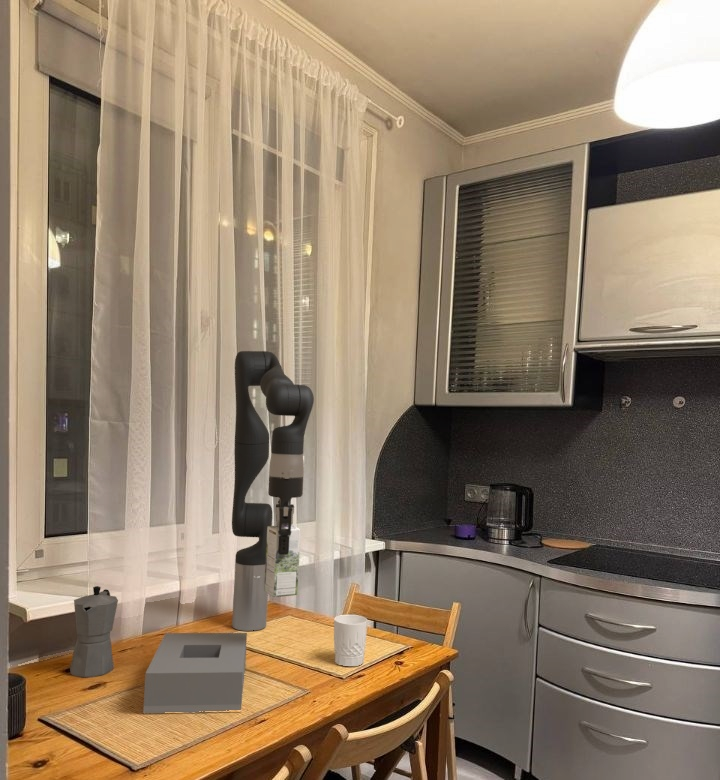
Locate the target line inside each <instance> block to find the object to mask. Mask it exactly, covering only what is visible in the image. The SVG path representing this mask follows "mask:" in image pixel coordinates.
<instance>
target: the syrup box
mask: <svg viewBox="0 0 720 780" xmlns="http://www.w3.org/2000/svg"><path fill="white" fill-rule="evenodd" d="M281 529H288V527H282V528H281ZM278 531H279V527H278V526H277V525H272V526H268V528H267V545H266V565H265V583H264V591H265V592H266V593H268V596H271V597H272V598H279V597H280V598H281V597H291V596H298V589H299V587H298V585H299V570H300V569H299V568H300V567H299V566H300V555H301V553H300V551H301V550H300V549H301V535H302V534H301V533H302V531H301V529H300V528H299V527H298V526H296V525H293V524H292V527H291V535H290V537H289V553H288V554H287V555H280V554H279V553H278V546H279V535H278Z"/></svg>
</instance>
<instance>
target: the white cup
mask: <svg viewBox="0 0 720 780" xmlns="http://www.w3.org/2000/svg"><path fill="white" fill-rule="evenodd" d="M367 629H368V618H366V617H364V616H363V615H360V614H359V615H357V614H341V615H337V616H334V619H333V641H334V643H333V645H334V647H333V649H334V663H335V662H336V663H337V664H339V665H343V666H358V665H361V664H362V663H363V664H364V660H365V651H366V644H367V643H366V642H367V641H366V640H367V632H368V631H367ZM336 663H335V664H336ZM337 664H336V665H337ZM363 664H362V665H363ZM339 665H338V666H339ZM362 665H361V666H362ZM358 667H359V666H358Z"/></svg>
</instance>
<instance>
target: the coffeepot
mask: <svg viewBox="0 0 720 780" xmlns="http://www.w3.org/2000/svg"><path fill="white" fill-rule="evenodd" d="M101 588H102V586H99V585H96V586H93V587H92V590H93V594H89V595H85V596H81V597H78V598H76V599H73V602H74V603H73V605H74V615H75V616H74V617H75V627H76V634H77V639H76V641H75V645H74V649H73V654H72V657H71V658H72V659H71V662H70V667H69V670H70V671H69V672H70V674H71V675H72V676H74V677H77V678H96V677H101V676H104V675H107V674H109V673H110V672H112V671H113V670H114V668H115V667H114V658H113V649H112V640H111V631H113V626H114V621H115V617H116V613H117V607H118V602H119V600H118V598H117V596H113V595H111V594H110V590H109V589H107V588H106V589H103V590H102V591H101Z"/></svg>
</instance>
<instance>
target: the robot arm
mask: <svg viewBox="0 0 720 780" xmlns="http://www.w3.org/2000/svg"><path fill="white" fill-rule="evenodd" d="M234 385H235V387H234V388H235V425H234V427H235V428H234V448H233V449H234V454H233V455H234V488H233V500H232V501H233V502H232V513H231V530H232V534H233V535H234V536H235V537H240V538H258V541H256V542H255V543H254V544H253V545H250V546H248V547H246V548H241V549H239V550H237V551H236V553H235V559H234V560H235V561H234V563H235V564H234V580H233V582H234V583H233V584H234V585H233V598H232V600H233V601H232V602H233V603H232V621H231V622H232V623H231V627H232V628H233V629H235V630H238V631H244V632H245V631H246V632H252V631H253V630H254V631H259V630H263V629H265V628H266V627H267V621H268V620H267V618H268V617H267V616H268V615H267V613H268V600H269V597H268V596H269V594H268V593H266V592H265V591H264V583H265V565H266V545H267V528H268V526H273V525H272V524H273V508H272V505H271V504H269V503H262V502H261V503H259V502H246V496H247V494H248V492H249V489H250V488H251V487H252V484H253V482H254V481H255V480H256V478H257V477H258V476H259V475H260V473H261V472H262V470H263V469H264V468H265V466H266V464H267V463H268V460H269V455H270V460H269V469H268V488H267V489H268V491H267V492H268V496H270V497H272V498H279V499H278V502H277V503H276V504H275V514H276V515H275V522H276V526H278V527H279V531H278V535H279V546H278V553H279V554H280V555H287V554H288V553H289V537H290V535H291V527H292V525H293V521H294V520H293V519H294V513H295V506H294V504H292V501H291V500H292V499H293V498H295V499H296V498H300V497H302V496H303V494H304V493H303V491H304V490H303V489H304V472H305V471H304V469H305V467H304V465H305V462H304V446H305V445H304V442H305V435H306V434H305V433H306V429H307V426H308V422H309V418H310V417H311V416H310V415H311V412H312V410H313V407H314V402H315V399H314V392H313V391H312V389H311V388H310V387H309V385H305V384H295V383H294V382H293V381H292V380H291V379H290V377H289V376H287V375H286V373H285V372H284V370H283V367H282V365H281V363H280V361H279V359H278V357H277V355H275V353H273V352H272V351H268V350H267V351H266V350H262V351H261V350H254V351H253V350H241V351H239V352H237V353H236V356H235V360H234ZM249 387H260V391H261V393H262V394H263V396H265V406H266V410H267V411H268V413H269V414H272V415H274V416H285V417H286V416H287V417H294V418H293V420H292V422H291V423H289V424H288V425H283V426H282V425H281V426H277V427H275V428H274V429H273V430H272V434H271V449H270V433H269V432H270V431H269V430H268V427H267V426H266V424H265V422H264V421H263V419H261V417H260V415H259V413H258V412H257V411H256V409H255V407H254V404H253V403H252V400H251V397H250V392H249ZM270 451H271V453H270ZM282 527H288V529H281V528H282ZM254 631H253V632H254Z"/></svg>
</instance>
